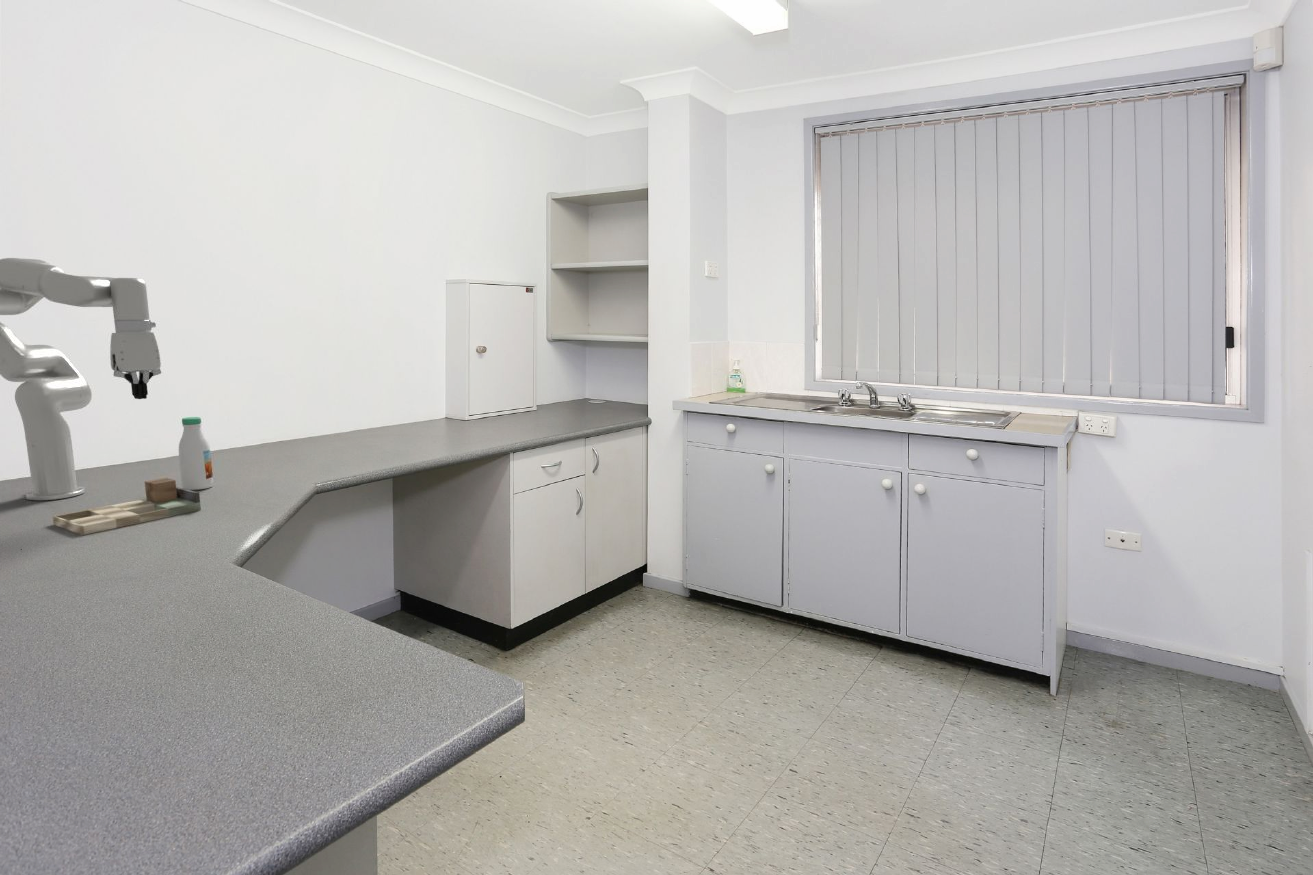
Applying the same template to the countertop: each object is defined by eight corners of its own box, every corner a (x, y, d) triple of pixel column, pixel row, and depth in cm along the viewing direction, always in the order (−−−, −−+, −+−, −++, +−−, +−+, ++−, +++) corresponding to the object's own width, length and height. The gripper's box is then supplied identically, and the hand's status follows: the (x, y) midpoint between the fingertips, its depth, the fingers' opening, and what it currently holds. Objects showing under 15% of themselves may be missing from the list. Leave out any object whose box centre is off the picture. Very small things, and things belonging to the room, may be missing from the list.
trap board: (53, 524, 182) (51, 505, 181) (170, 501, 203) (169, 484, 203) (81, 535, 174) (79, 515, 173) (200, 509, 195) (199, 492, 195)
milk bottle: (199, 491, 214) (192, 420, 211) (175, 490, 216) (168, 419, 212) (220, 485, 222) (213, 416, 218) (196, 483, 223) (190, 415, 220)
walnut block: (146, 500, 196) (144, 481, 196) (167, 496, 201) (165, 477, 200) (156, 503, 194) (154, 483, 193) (177, 499, 198) (175, 480, 197)
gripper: (157, 326, 205) (164, 394, 209) (92, 327, 193) (101, 400, 196) (171, 327, 201) (178, 396, 205) (106, 328, 189) (115, 402, 192)
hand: (140, 398), depth 200 cm, fingers closed
